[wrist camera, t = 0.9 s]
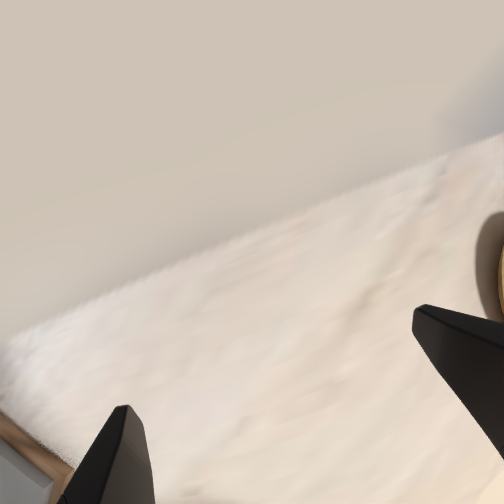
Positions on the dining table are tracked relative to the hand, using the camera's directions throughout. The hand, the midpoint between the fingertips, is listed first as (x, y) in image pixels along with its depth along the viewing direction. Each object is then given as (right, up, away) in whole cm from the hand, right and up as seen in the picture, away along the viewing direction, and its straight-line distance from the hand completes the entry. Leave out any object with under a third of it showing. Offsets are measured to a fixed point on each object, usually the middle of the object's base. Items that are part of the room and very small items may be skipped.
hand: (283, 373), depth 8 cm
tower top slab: (-22, -17, +7) cm, 29 cm away
